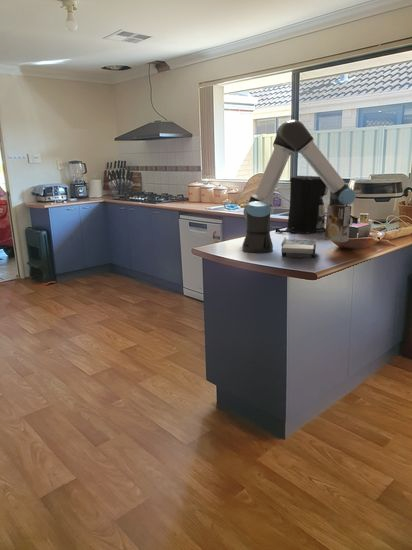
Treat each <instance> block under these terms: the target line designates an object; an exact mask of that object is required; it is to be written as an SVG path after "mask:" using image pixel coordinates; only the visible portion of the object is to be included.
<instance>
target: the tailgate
mask: <svg viewBox="0 0 412 550" xmlns="http://www.w3.org/2000/svg"><path fill="white" fill-rule="evenodd" d="M313 248H314V245H299V244H284V245H283V247H282V246H281V250H280V251H281V253H282V252H285V253H308V254H313Z"/></svg>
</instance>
